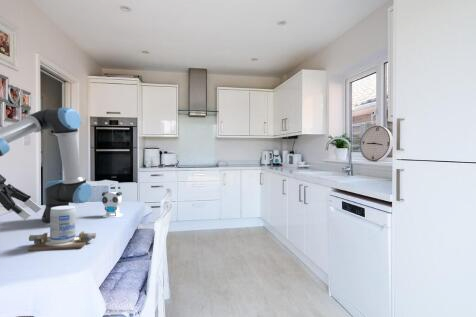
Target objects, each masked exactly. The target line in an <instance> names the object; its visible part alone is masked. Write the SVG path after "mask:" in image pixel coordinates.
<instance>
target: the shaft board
mask: <svg viewBox="0 0 476 317" xmlns="http://www.w3.org/2000/svg"><path fill="white" fill-rule="evenodd" d="M96 237H97V234H96V232H90V233H89V232H87V233H86V232H85V231H81V232H79V234H78V235H75V239H74V240H72V241H70V242H66V243H52V242H51V241H50V236H48V232H44V233H43V234H34V235H33V234H30V235H29V236H28V241H29V242H33V245H31V246H29V247H28V248H27V252H38V251H39V252H40V251H63V250H81V249H83V248H84V247H85V246H86V245H87V244H88V243H89V242H90V241H92V240H93V239H96Z"/></svg>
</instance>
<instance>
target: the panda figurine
mask: <svg viewBox="0 0 476 317" xmlns="http://www.w3.org/2000/svg"><path fill="white" fill-rule="evenodd" d="M122 194H123V193H122V192H121V191H118V192H116V191H111V192H109V191H103V192H102V193H101V196H102V198H101V202H102V204H103V206H104V210H105V212H106V214H104V215H102V217H103V218H104V217H105V218H104V219H114V217H116V218H120V217H122V216H123V213H121V212H120V205H122V202H123V197H122Z"/></svg>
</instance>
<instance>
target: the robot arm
mask: <svg viewBox="0 0 476 317" xmlns="http://www.w3.org/2000/svg"><path fill="white" fill-rule="evenodd" d="M81 124H82V117H81V115H80V114H79V112H78V111H76V109H74V108H71V107H63V106H62V107H49V108H48V107H47V108H43V109H40V110H38V111H36V112H33V113H30V114H28V115H26V116H25V117H24V119H21V120H19V121H16V122H13V123H11V124H8V125H5V126H3V127H1V128H0V157H3V156H4V155H6V154H7V153H9V151H10V150H11V147H10V145H9V144H11V143H12V142H14V141H16V140H18V139H21V138H23V137H25V136H28V135H29V134H32V133H40V132H43V131H47V130H52V132H53V133H52V134H54V136H56V137H57V140H58V141H57V142H58V148H59V152H60V154H59V155H60V158H61V163H62V168H63V169H62V170H63V174H64V175H63V176H64V179H62V180H60V179H59V180H52V181H47V182H46V183H45V187H44V192H45V193H44V194H45V195H44V196H45V197H44V198H45V203H44V204H45V207H44V211H43V213H42V216H41V221H42V223H50V211H51V208H53V207H57V206H70V204H75V205H76V204H84V203H87V202H88V200H90V198H91V196H92V194H93V187H92V185H91V184H90V183H88V182H87V178H86V177H84V176H83V173H82V167H81V161H80V154H79V148H78V143H77V142H78V141H77V137H76V136H77V134H78V133H79V130H78V129H79V128H80V127H81ZM6 182H7V179H6V178H5V176H3V175H2V174H0V204H1V206H2V207H3V208H4V209H5V210H6V211H7V212H9V211H12V212H14V213H15V214H16V215H17V216H19V217H20V218H21V219H23V220H24V221H26V220H27V219H28V218H29V217H31V216H32V214H31V213H30V212H29V211H27V210H26V209H25V208H23V207H22V206H20V205H19V204H18V203H16V202H15V201H14V200H13V199H16V200H17V201H20V202H23V204H24V205H25V206H26V207H27V208H28V209H30V210H32V211H33V212H34V213H35V214H37V213H38V212H39V211H41V210H42V206H40V205H39V204H37V203H36V202H34V201H33V200H32V199H31V198H32V197H31V195H29V194H27V193H25V192H24V191H22V190H20V189H19V188H16V187H14V186H13V185H12V184H10V183H8V184H5V183H6Z"/></svg>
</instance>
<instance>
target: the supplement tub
mask: <svg viewBox="0 0 476 317" xmlns="http://www.w3.org/2000/svg"><path fill="white" fill-rule="evenodd" d="M76 215H77V213H76V206H75V205H69V206H57V207H53V208H51V211H50V222H49V237H50V241H51V242H52V243H66V242H70V241H72V240H74V239H75V236H76Z"/></svg>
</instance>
